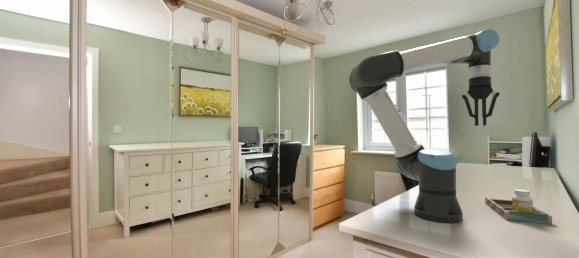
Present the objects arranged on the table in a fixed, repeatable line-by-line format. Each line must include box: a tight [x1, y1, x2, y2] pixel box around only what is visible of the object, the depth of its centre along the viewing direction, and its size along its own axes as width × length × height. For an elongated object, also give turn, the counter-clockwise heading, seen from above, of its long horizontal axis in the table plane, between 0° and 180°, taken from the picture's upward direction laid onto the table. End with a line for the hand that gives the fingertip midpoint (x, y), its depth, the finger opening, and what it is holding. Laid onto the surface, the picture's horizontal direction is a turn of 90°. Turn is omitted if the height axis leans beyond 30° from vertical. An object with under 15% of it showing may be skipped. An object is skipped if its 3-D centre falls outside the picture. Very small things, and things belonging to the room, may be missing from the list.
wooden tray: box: [484, 196, 553, 225], centre depth 96 cm, size 22×12×3 cm, turn 158°
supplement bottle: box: [511, 188, 534, 212], centre depth 89 cm, size 5×5×10 cm
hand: (480, 133), depth 107 cm, fingers closed
